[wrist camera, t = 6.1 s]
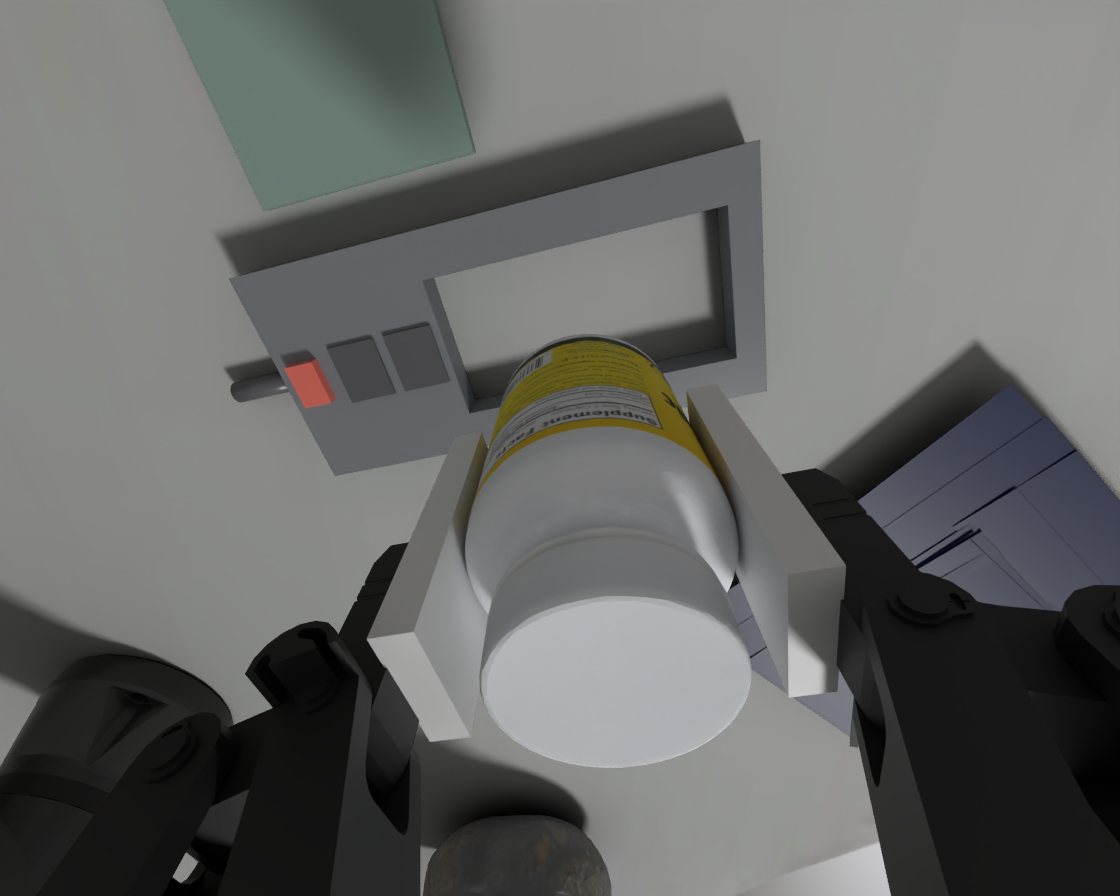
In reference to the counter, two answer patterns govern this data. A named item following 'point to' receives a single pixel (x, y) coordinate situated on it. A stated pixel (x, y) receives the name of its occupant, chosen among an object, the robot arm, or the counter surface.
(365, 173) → the rubber mat
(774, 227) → the counter surface
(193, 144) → the counter surface
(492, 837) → the vessel
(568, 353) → the supplement bottle
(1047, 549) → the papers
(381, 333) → the rectangular frame
